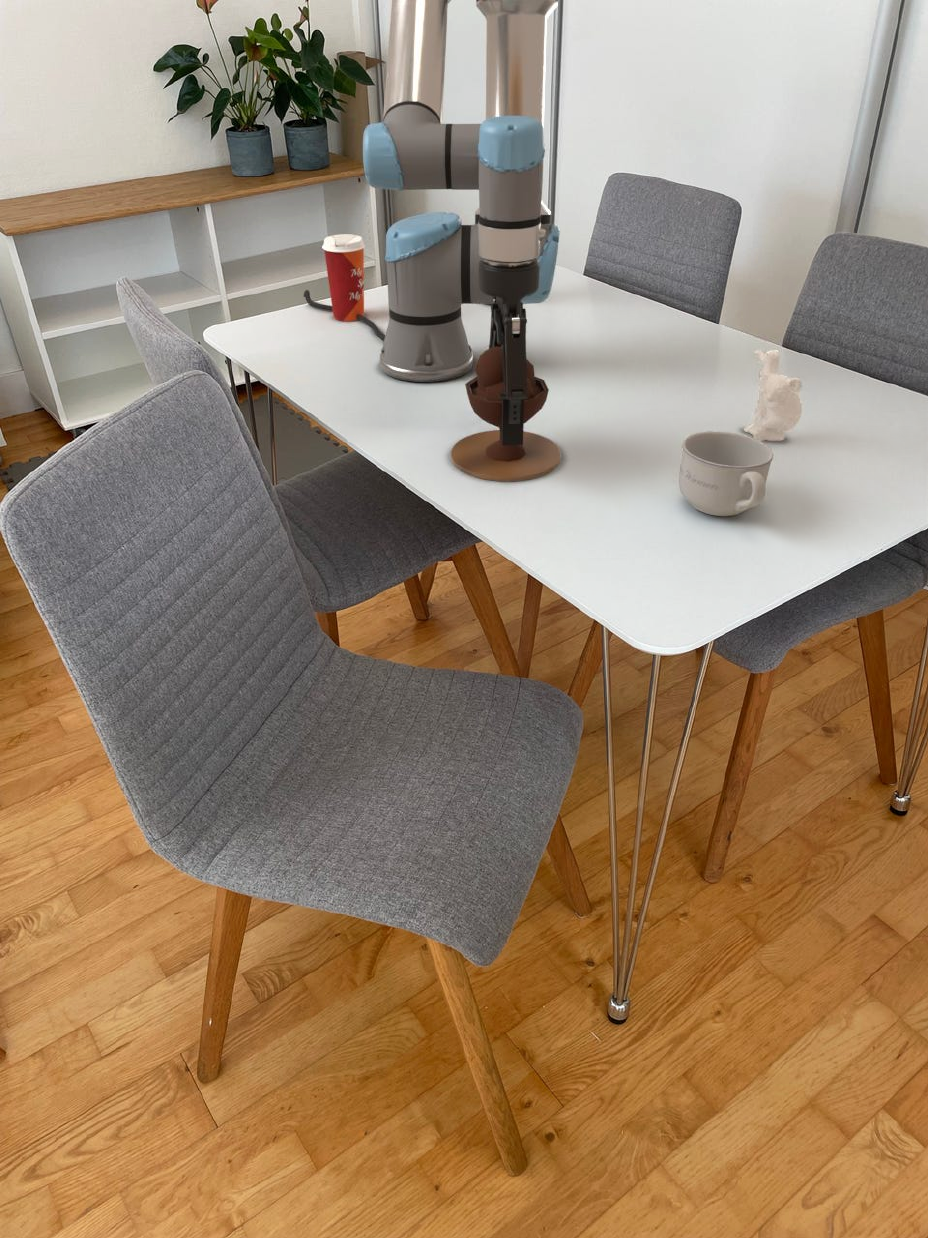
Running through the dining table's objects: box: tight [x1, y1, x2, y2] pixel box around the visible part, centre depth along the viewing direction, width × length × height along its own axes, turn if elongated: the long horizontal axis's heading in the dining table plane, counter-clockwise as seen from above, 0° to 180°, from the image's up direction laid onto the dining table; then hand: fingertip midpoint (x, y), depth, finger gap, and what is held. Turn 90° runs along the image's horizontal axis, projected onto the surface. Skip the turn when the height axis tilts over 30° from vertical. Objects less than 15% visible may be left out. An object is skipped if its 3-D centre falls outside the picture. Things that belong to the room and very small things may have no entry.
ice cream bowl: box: [464, 347, 550, 461], centre depth 133 cm, size 11×11×15 cm
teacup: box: [678, 430, 774, 517], centre depth 123 cm, size 14×11×8 cm
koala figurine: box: [743, 348, 803, 442], centre depth 139 cm, size 8×7×12 cm
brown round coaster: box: [450, 429, 562, 482], centre depth 138 cm, size 15×15×1 cm
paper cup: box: [321, 233, 366, 322], centre depth 183 cm, size 8×8×14 cm
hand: (506, 425), depth 135 cm, fingers closed on ice cream bowl, 11 cm apart
